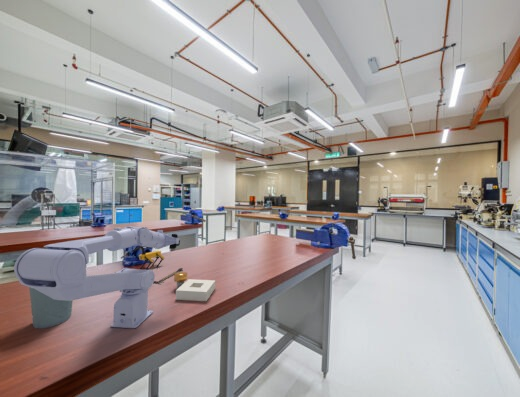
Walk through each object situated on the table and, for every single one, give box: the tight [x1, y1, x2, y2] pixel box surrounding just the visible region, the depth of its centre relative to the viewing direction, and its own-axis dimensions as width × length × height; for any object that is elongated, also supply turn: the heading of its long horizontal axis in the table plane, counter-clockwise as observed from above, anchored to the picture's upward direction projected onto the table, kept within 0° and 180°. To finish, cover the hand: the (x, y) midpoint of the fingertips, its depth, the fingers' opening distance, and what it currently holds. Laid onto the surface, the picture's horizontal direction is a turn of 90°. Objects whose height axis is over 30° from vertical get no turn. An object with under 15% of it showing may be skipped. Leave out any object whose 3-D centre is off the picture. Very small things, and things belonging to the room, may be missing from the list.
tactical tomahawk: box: [153, 267, 183, 285], centre depth 108 cm, size 21×7×1 cm, turn 166°
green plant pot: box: [28, 287, 74, 329], centre depth 67 cm, size 10×10×12 cm
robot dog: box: [131, 245, 165, 270], centre depth 119 cm, size 6×18×13 cm, turn 154°
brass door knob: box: [173, 271, 188, 290], centre depth 94 cm, size 5×5×6 cm
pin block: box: [175, 278, 216, 302], centre depth 89 cm, size 12×12×4 cm
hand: (170, 242), depth 91 cm, fingers open, 7 cm apart
